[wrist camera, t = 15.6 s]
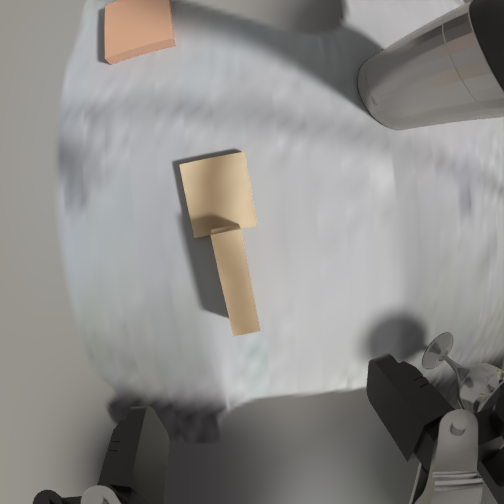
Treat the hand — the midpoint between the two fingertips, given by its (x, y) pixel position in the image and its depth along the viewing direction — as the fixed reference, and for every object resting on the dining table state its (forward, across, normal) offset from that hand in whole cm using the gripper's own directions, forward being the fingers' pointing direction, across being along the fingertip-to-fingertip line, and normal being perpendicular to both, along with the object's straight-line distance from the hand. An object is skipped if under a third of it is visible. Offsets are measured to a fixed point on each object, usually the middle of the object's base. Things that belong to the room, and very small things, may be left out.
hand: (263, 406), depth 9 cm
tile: (+19, +5, -26) cm, 33 cm away
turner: (+20, 0, -2) cm, 20 cm away
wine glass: (+20, -29, +23) cm, 42 cm away
